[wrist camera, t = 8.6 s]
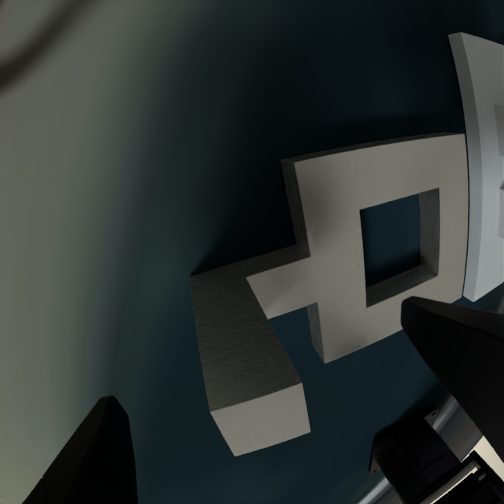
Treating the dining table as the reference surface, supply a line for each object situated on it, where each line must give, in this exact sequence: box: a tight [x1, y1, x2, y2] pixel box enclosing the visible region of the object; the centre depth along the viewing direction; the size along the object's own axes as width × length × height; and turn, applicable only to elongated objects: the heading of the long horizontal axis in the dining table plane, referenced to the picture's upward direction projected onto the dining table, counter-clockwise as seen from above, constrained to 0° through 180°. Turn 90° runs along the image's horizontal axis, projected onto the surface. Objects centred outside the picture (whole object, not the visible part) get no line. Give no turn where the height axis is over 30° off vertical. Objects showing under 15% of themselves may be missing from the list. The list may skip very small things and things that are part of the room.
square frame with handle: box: [189, 132, 468, 456], centre depth 10 cm, size 14×9×7 cm, turn 103°
